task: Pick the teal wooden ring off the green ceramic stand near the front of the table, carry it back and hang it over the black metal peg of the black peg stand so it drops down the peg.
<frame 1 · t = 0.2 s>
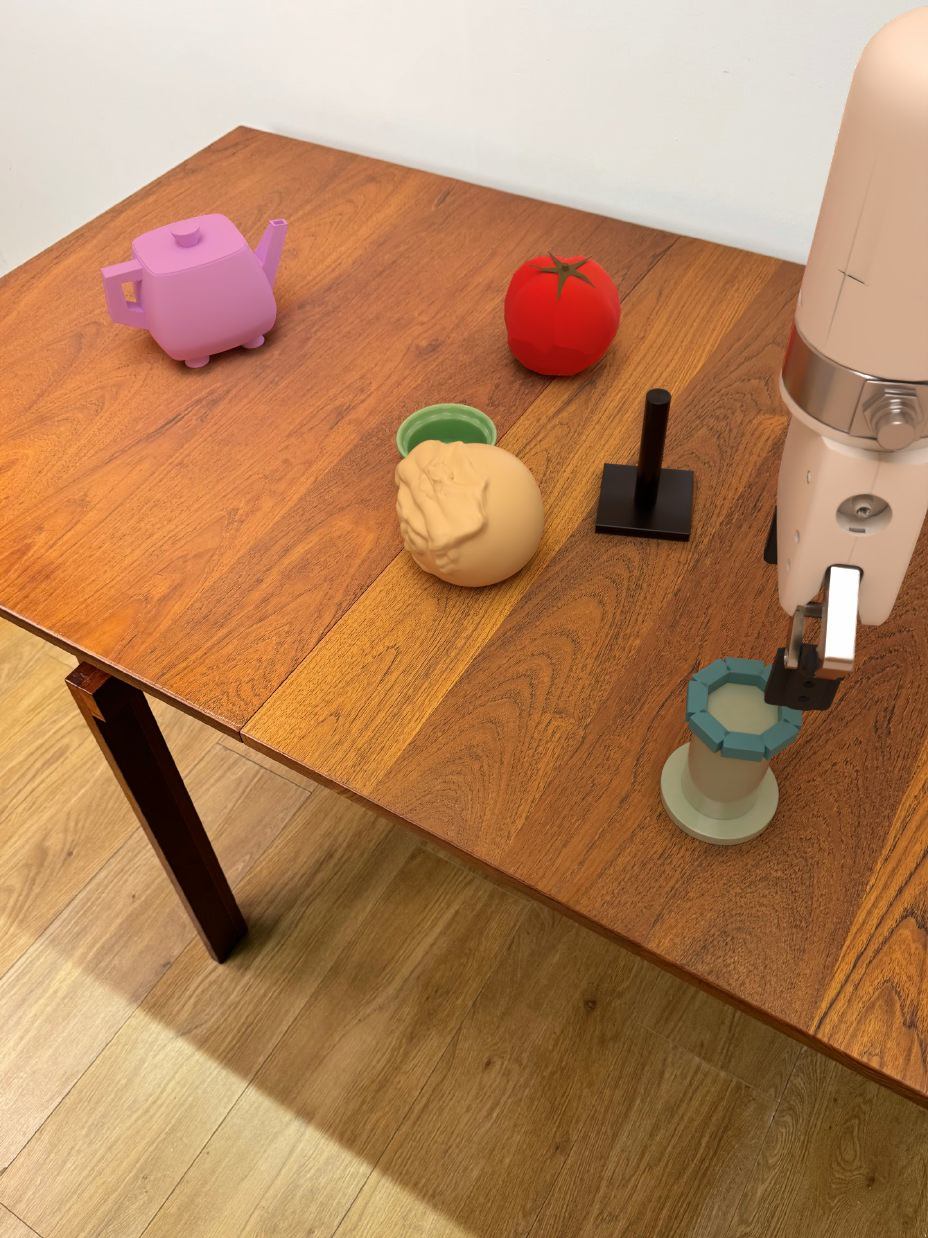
hand: (793, 628, 53), 20 cm above the table, tool pointing down, fingers open, 9 cm apart
ring: (741, 713, 62), point 10 cm above the table, touching ring stand
sculpture: (472, 556, 85), on the table
ramekin: (449, 473, 92), on the table
tomato: (559, 361, 102), on the table
black peg stand: (644, 505, 88), on the table
ring stand: (717, 793, 70), on the table
teapot: (218, 336, 108), on the table
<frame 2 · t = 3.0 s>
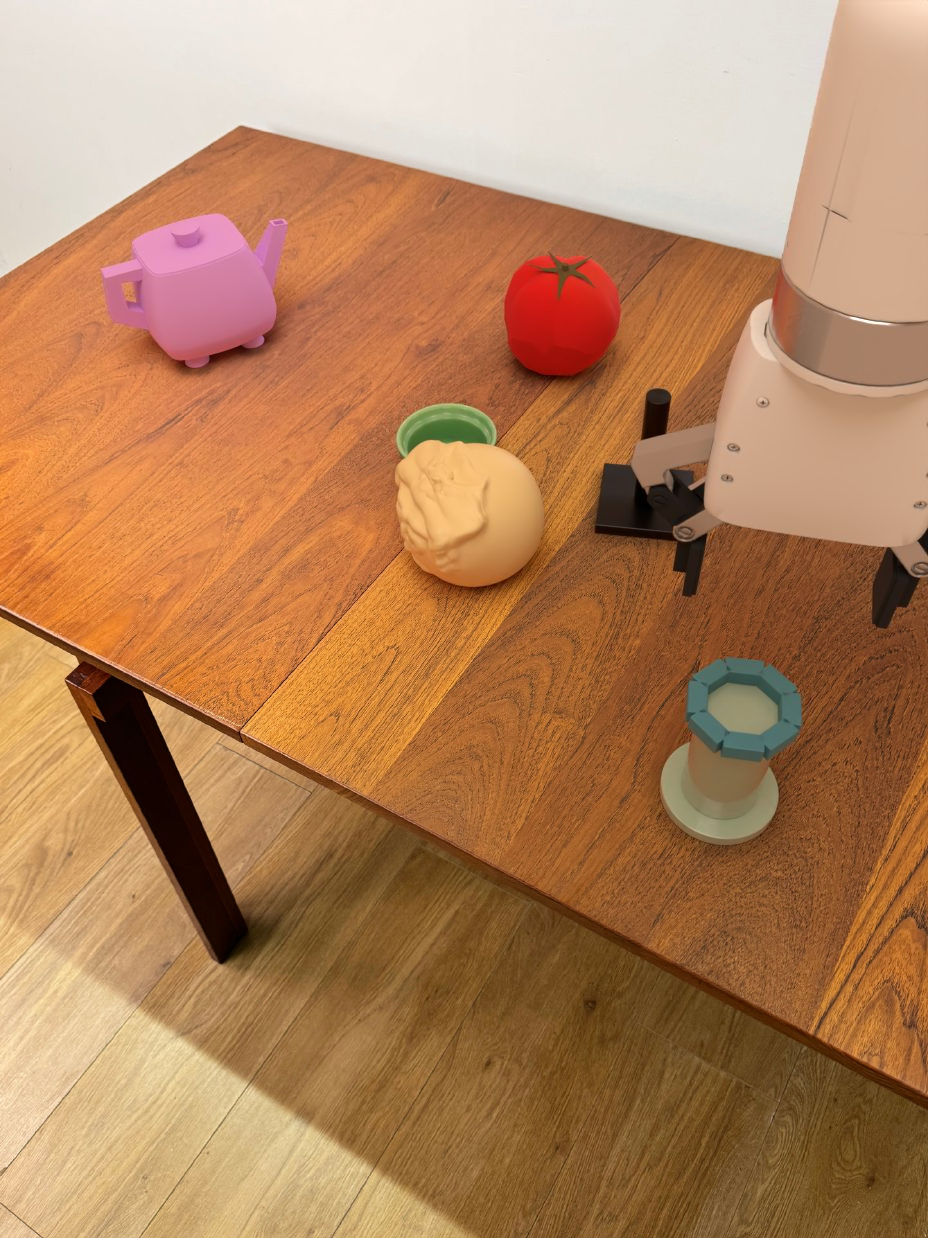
hand: (783, 592, 53), 22 cm above the table, tool pointing down, fingers open, 9 cm apart
nothing on the table moved.
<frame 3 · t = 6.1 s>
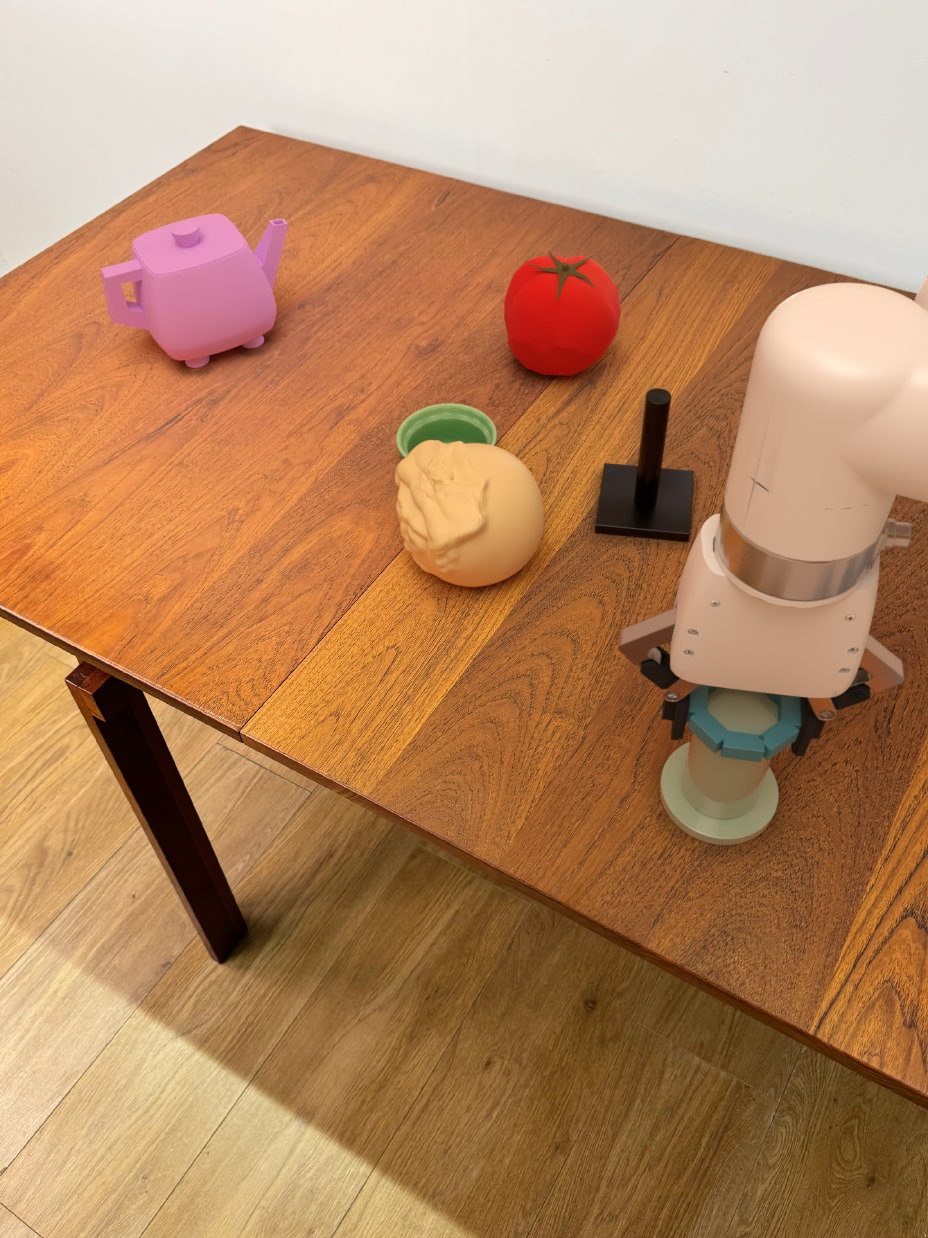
hand: (736, 727, 63), 8 cm above the table, tool pointing down, fingers closed on ring, 6 cm apart
ring: (741, 713, 62), point 10 cm above the table, touching gripper, ring stand
everything else where it was.
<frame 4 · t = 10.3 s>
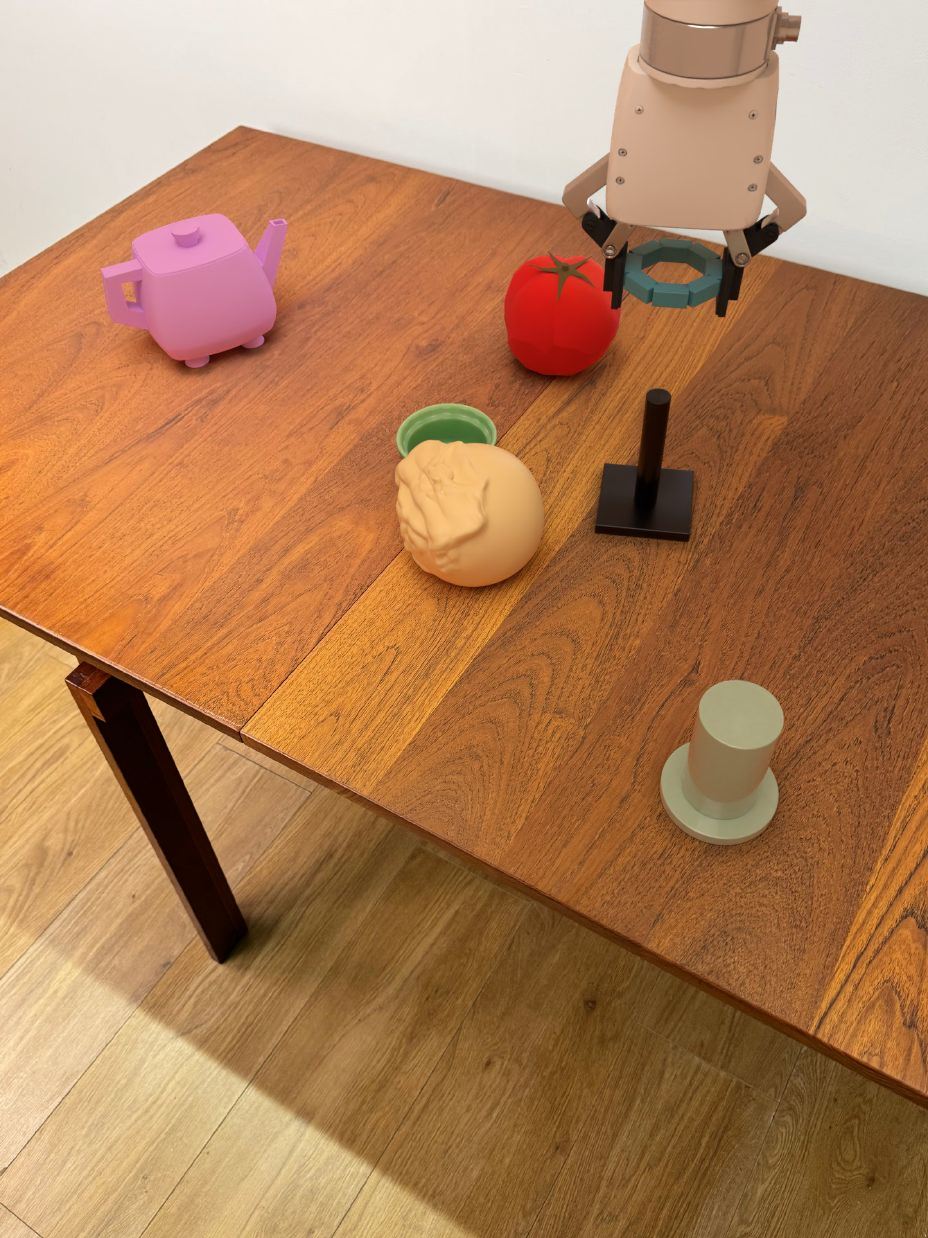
hand: (668, 300, 72), 21 cm above the table, tool pointing down, fingers closed on ring, 6 cm apart
ring: (671, 280, 71), point 22 cm above the table, touching gripper
everything else where it was.
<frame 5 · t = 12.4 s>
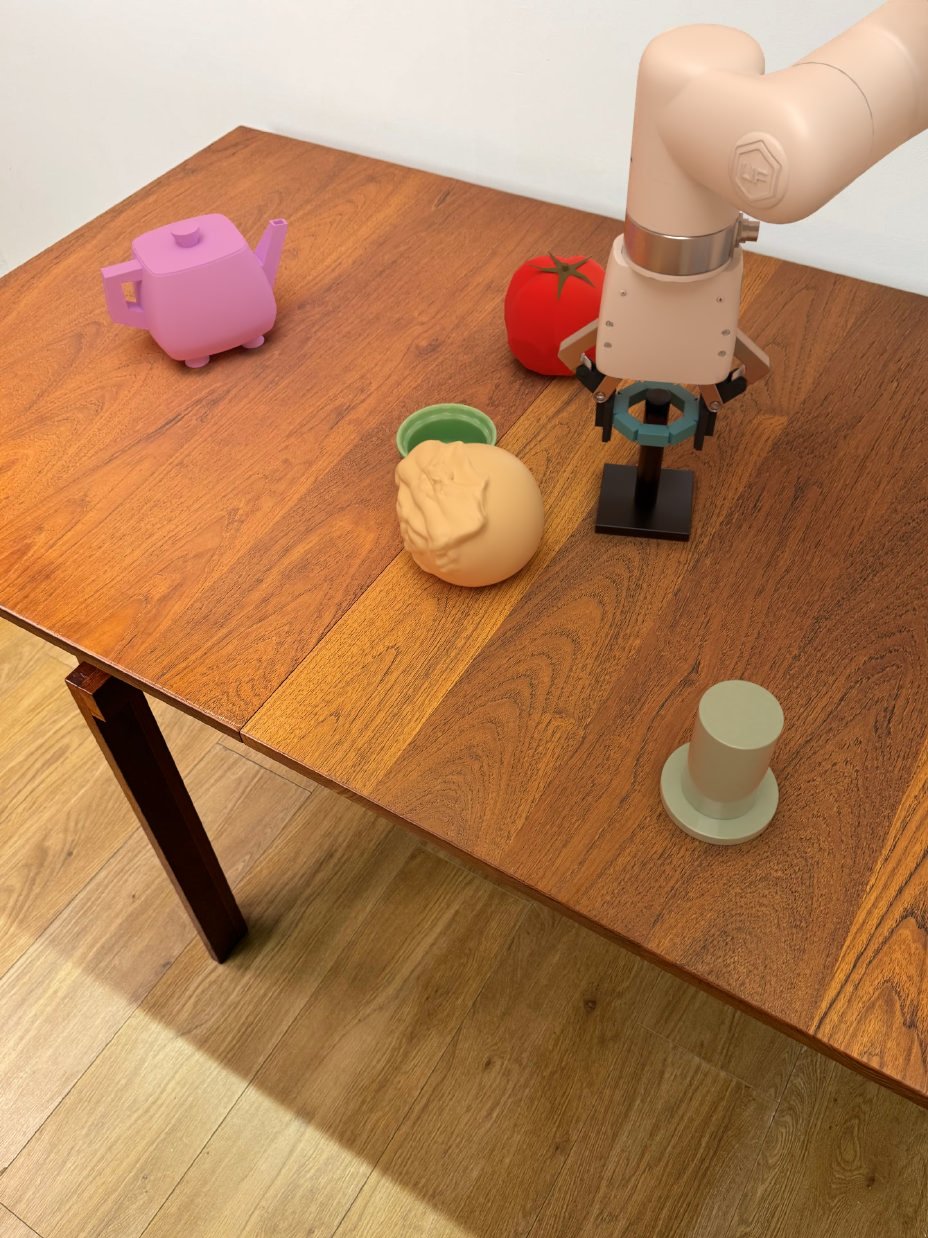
hand: (652, 434, 82), 8 cm above the table, tool pointing down, fingers closed on ring, 6 cm apart
ring: (654, 418, 80), point 10 cm above the table, touching gripper
everything else where it was.
when the fingers open (3 cm above the table, at t = 14.4 s): ring drops 4 cm, resting on black peg stand.
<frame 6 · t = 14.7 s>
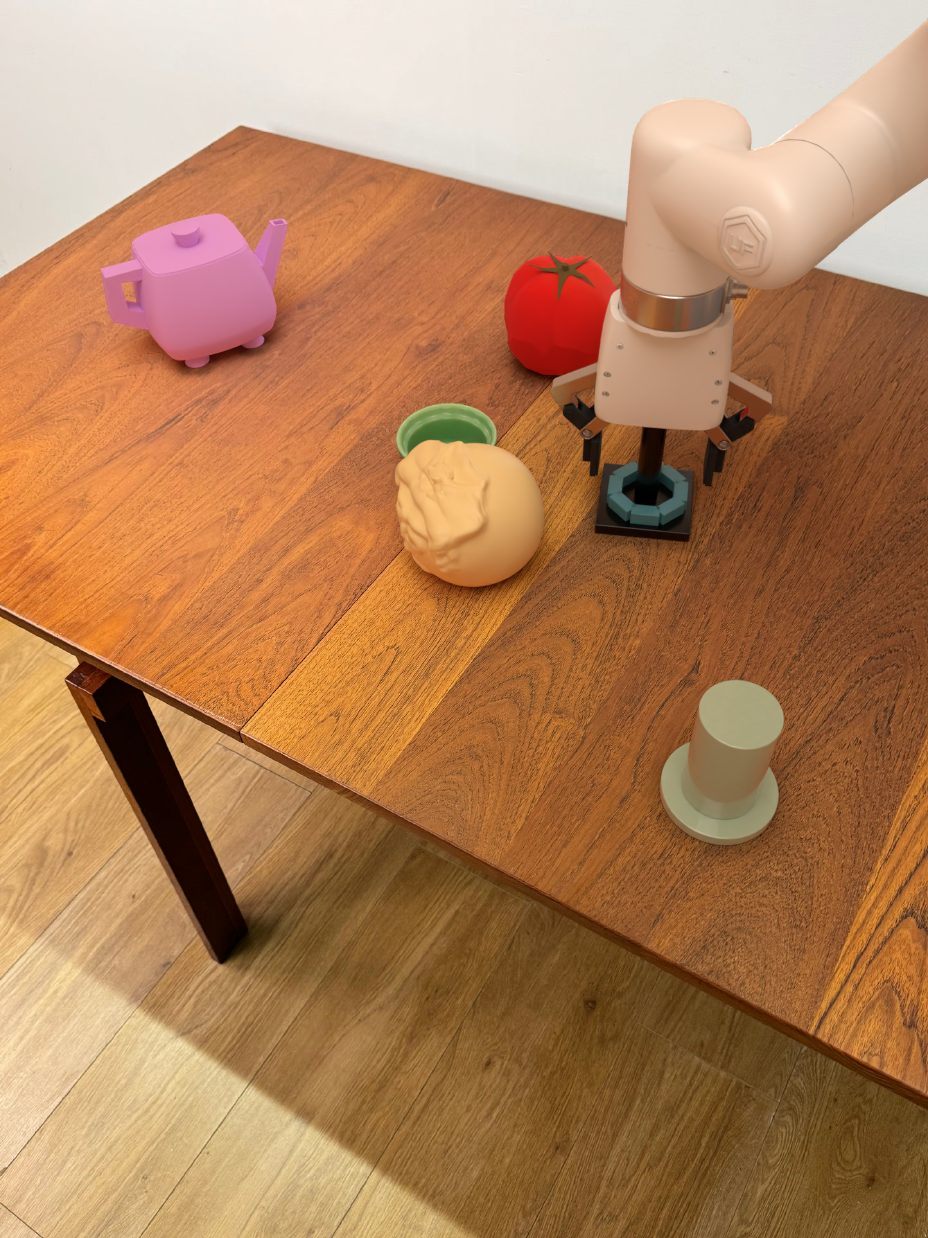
hand: (650, 470, 85), 4 cm above the table, tool pointing down, fingers open, 9 cm apart
ring: (646, 497, 87), point 1 cm above the table, touching black peg stand
everything else where it was.
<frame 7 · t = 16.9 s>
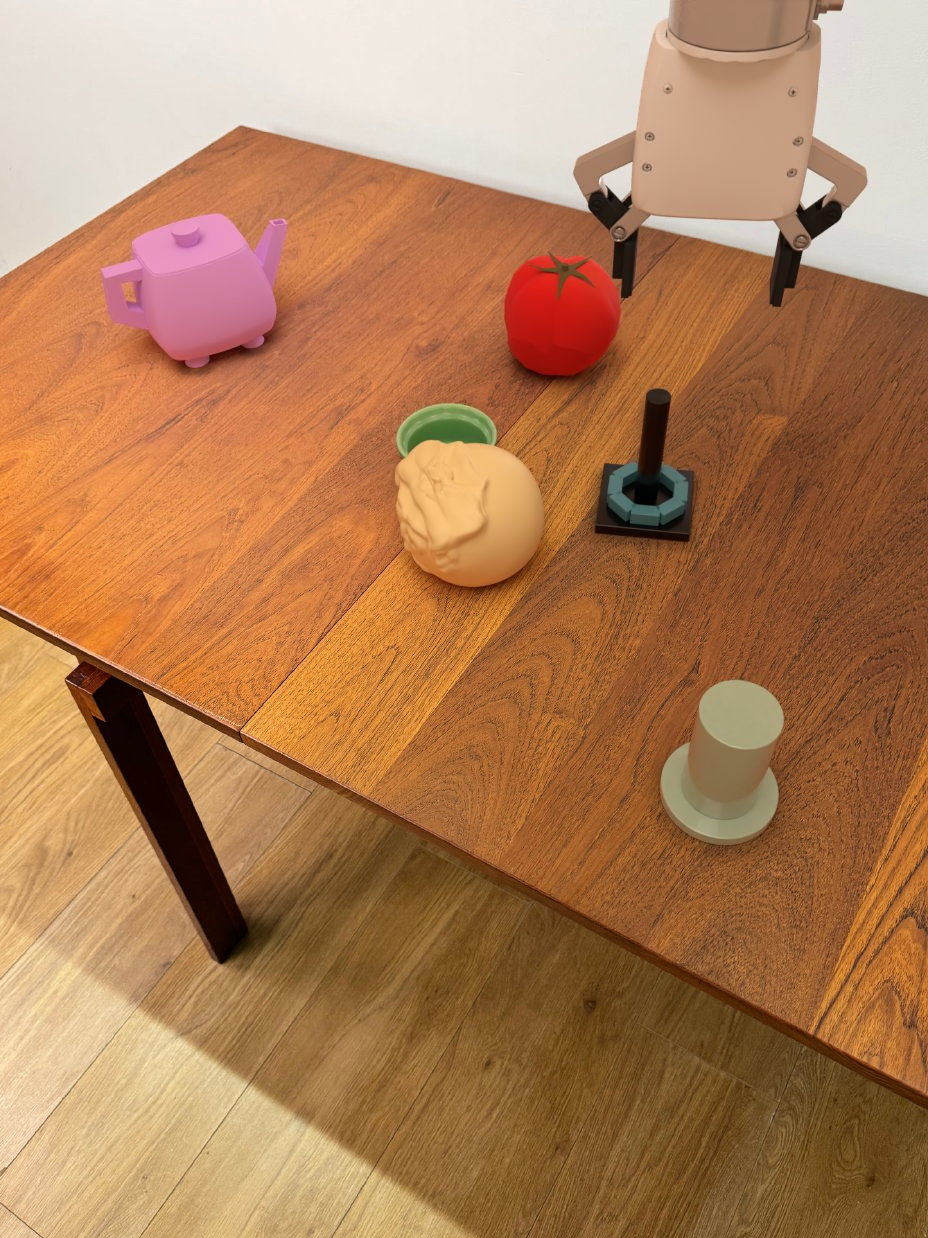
hand: (700, 290, 66), 24 cm above the table, tool pointing down, fingers open, 9 cm apart
nothing on the table moved.
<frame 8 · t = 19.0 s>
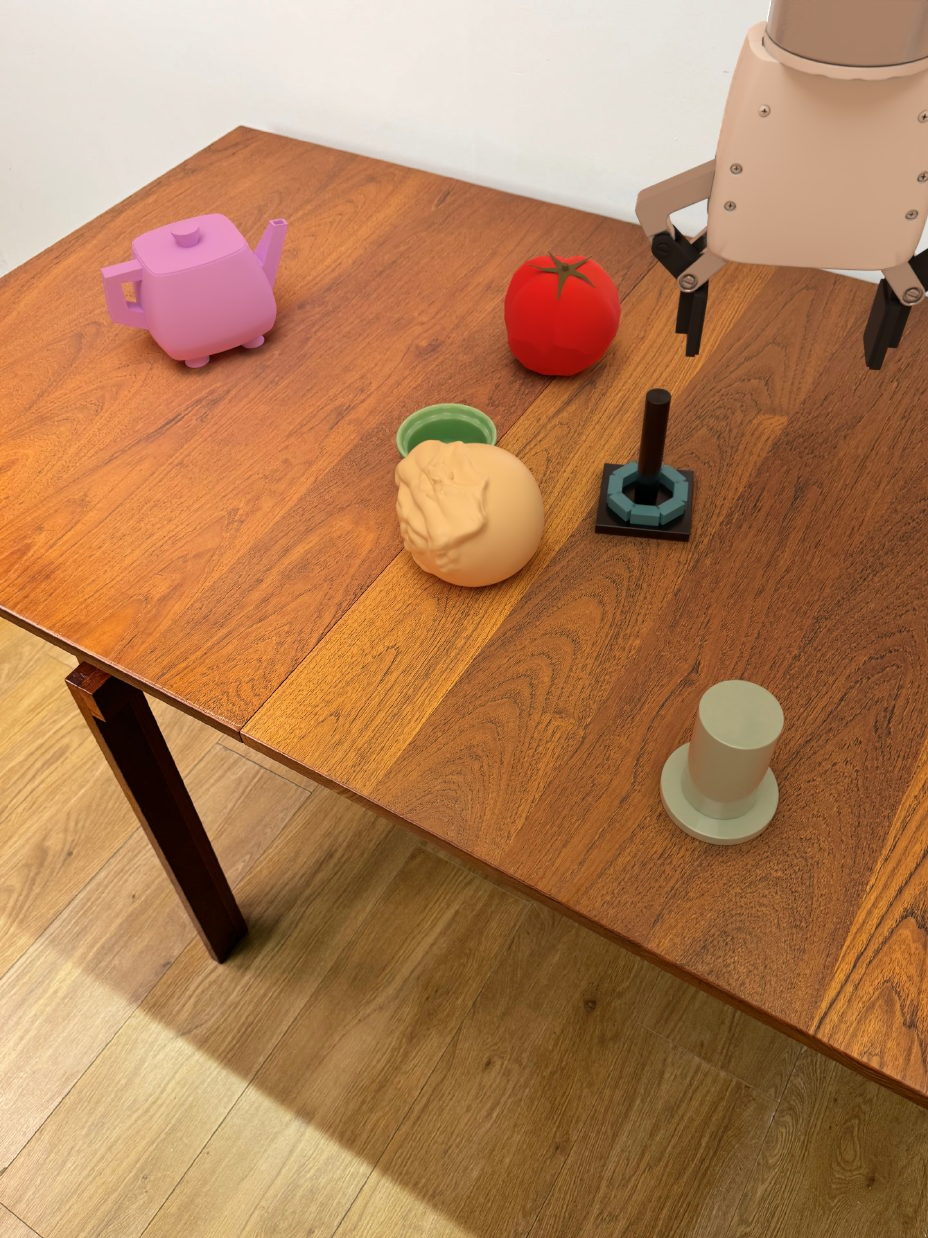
hand: (780, 348, 55), 28 cm above the table, tool pointing down, fingers open, 9 cm apart
nothing on the table moved.
at the end: ring 0.1 cm off-centre on the black peg stand, point 1.0 cm above the black peg stand's base; the gripper is holding nothing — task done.
